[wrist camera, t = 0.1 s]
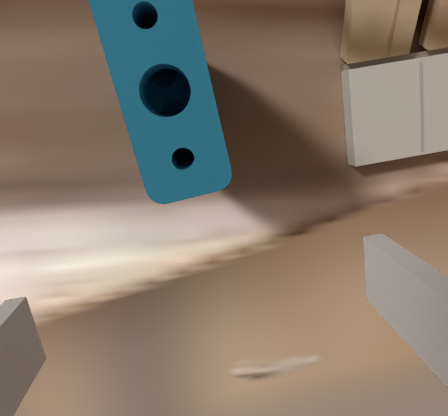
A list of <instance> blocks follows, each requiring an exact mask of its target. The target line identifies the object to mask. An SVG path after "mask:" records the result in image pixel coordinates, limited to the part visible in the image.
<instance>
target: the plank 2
mask: <svg viewBox="0 0 448 416" xmlns="http://www.w3.org/2000/svg"><path fill="white" fill-rule="evenodd" d="M418 44H419V45H421V46H422V47H424V48H425V49H427V50H434V49H440V48H446V47H448V0H429V1H428V5H427V9H426V13H425V17H424V21H423V25H422V29H421V33H420V37H419V41H418Z"/></svg>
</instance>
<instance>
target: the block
mask: <svg viewBox="0 0 448 416" xmlns="http://www.w3.org/2000/svg"><path fill="white" fill-rule="evenodd" d="M89 3H90V6H91V10H92V13H93V16H94V20H95V23H96V26H97V30H98V33H99V36H100V40H101V43H102V46H103V50H104V53H105V56H106V60H107V63H108V66H109V70H110V73H111V76H112V80H113V83H114V86H115V90H116V93H117V96H118V100H119V103H120V106H121V110H122V113H123V116H124V120H125V123H126V126H127V130H128V133H129V136H130V139H131V143H132V146H133V149H134V153H135V156H136V159H137V163H138V166H139V169H140V173H141V176H142V179H143V183H144V186H145V189H146V192H147V194H148V196H149V197H150V199H152V200H153V201H154V202H157V203H160V204H168V203H172V202H176V201H180V200H184V199H188V198H192V197H196V196H200V195H204V194H208V193H212V192H216V191H219V190H222V189H224V188H225V187H226V186H227V185H228V184H229V183H230V180H231V177H232V170H231V166H230V161H229V157H228V153H227V148H226V144H225V140H224V135H223V131H222V127H221V123H220V118H219V114H218V110H217V105H216V101H215V97H214V92H213V88H212V84H211V79H210V75H209V71H208V67H207V62H206V58H205V54H204V49H203V45H202V41H201V36H200V32H199V28H198V24H197V19H196V15H195V11H194V6H193V2H192V0H89Z"/></svg>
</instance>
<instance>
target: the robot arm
mask: <svg viewBox="0 0 448 416" xmlns="http://www.w3.org/2000/svg"><path fill="white" fill-rule="evenodd" d="M363 241H364V242H363V243H364V259H365V277H366V293H367V300H368V301H369V302H370V303H371V304H372V305H373V306H374V307H375V309H376V310H377V311H378V312H379V313H380V314H381V315H382V316H383V317H384V318H385V320H386V321H387V322H388V323H389V324H390V325H391V326H392V327H393V328H394V329H395V330H396V331H397V333H398V334H399V335H400V336H401V337H402V338H403V339H404V340H405V342H406V343H407V344H408V345H409V346H410V347H411V348H412V349H413V350H414V351H415V352H416V354H417V355H419V357H420V358H421V359H422V360H423V361H424V362H425V363H426V364H427V366H428V367H429V368H430V369H431V370H432V371H433V372H434V373H435V374H436V375H437V377H438V378H439V379H440V380H441V381H442V382H443V383H444V384H445V385H446V386H447V387H448V277H447V276H445V275H444V274H443V273H441V272H440V271H438V270H437V269H435V268H434V267H432V266H430V265H429V264H428V263H426V262H424V261H423V260H422V259H420V258H419V257H417V256H416V255H414V254H413V253H411V252H410V251H408V250H407V249H405V248H403V247H402V246H400V245H399V244H397V243H396V242H394V241H393V240H391V239H390V238H388V237H387V236H385V235H384V234H382V233H381V234H375V235H370V236H364V237H363ZM45 360H46V356H45V353H44V350H43V347H42V344H41V341H40V338H39V335H38V332H37V328H36V325H35V322H34V319H33V316H32V313H31V310H30V307H29V304H28V301H27V298H26V297H21V298H16V299H10V300H5V301H4V302H3V303H2V304H1V306H0V416H13V415H14V414H15V412H16V410H17V408H18V407H19V405H20V403H21V401H22V400H23V398H24V396H25V395H26V393H27V391H28V389H29V387H30V386H31V384H32V382H33V381H34V379H35V377H36V375H37V373H38V372H39V370H40V368H41V367H42V365H43V363H44V362H45Z"/></svg>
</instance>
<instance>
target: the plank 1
mask: <svg viewBox="0 0 448 416" xmlns="http://www.w3.org/2000/svg"><path fill="white" fill-rule="evenodd" d="M421 2H422V0H346V5H345V14H344V23H343V32H342V42H341V51H340V57H341V58H342V59H343V60H344V61H345V62H346V63H347V64H350V63H356V62H362V61H368V60H374V59H380V58H386V57H392V56H398V55H404V54H409V53H410V48H411V44H412V40H413V36H414V31H415V27H416V23H417V19H418V14H419V10H420V6H421Z"/></svg>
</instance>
